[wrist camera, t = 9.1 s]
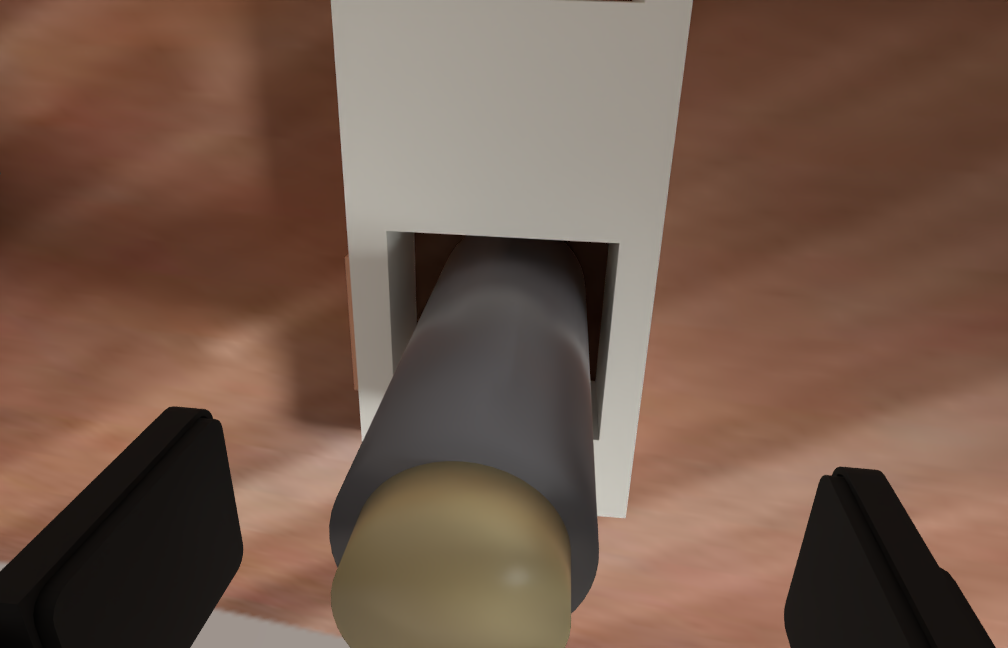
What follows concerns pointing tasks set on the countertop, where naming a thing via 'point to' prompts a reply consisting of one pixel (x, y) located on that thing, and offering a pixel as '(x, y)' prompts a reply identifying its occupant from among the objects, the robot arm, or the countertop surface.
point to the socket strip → (510, 166)
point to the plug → (477, 465)
